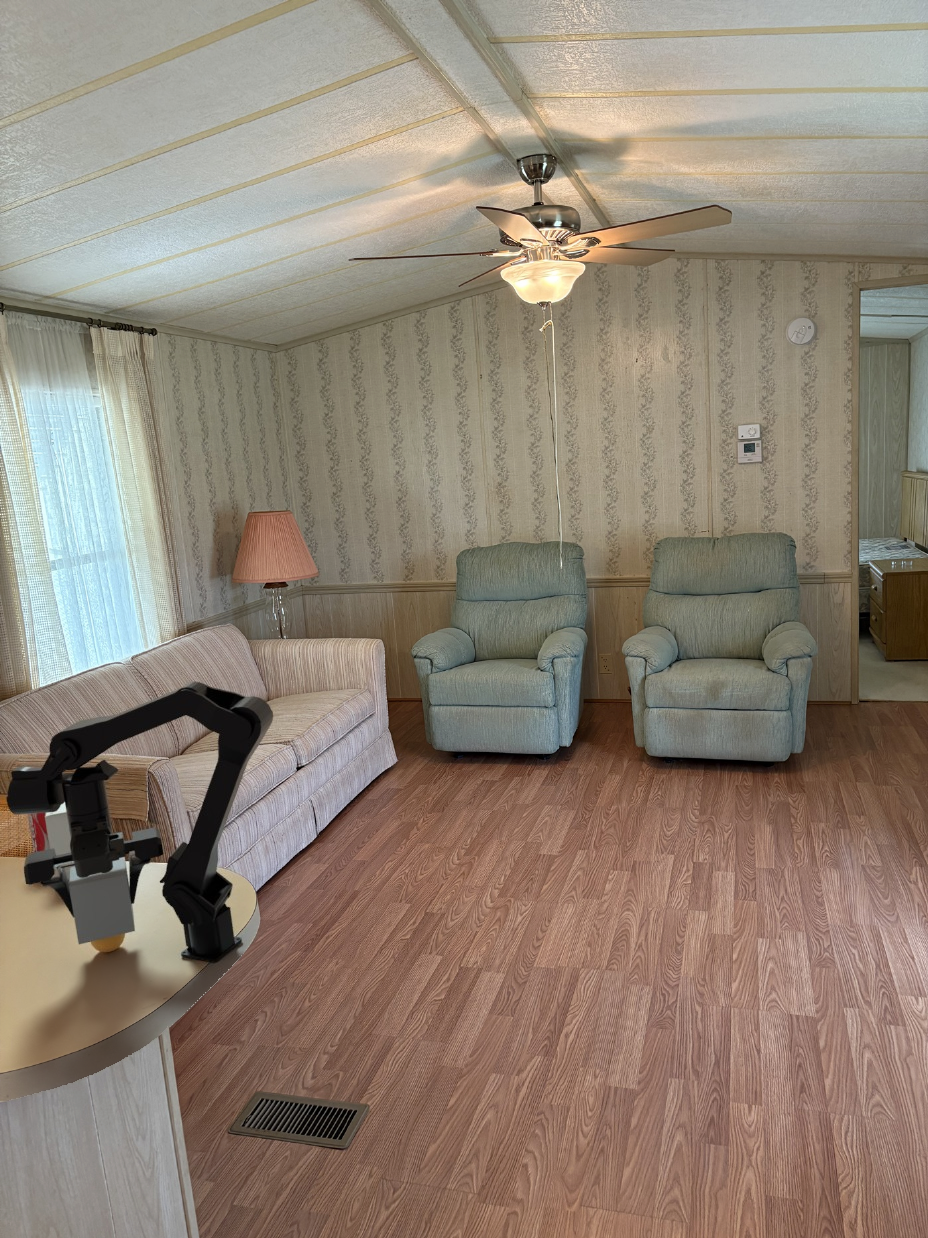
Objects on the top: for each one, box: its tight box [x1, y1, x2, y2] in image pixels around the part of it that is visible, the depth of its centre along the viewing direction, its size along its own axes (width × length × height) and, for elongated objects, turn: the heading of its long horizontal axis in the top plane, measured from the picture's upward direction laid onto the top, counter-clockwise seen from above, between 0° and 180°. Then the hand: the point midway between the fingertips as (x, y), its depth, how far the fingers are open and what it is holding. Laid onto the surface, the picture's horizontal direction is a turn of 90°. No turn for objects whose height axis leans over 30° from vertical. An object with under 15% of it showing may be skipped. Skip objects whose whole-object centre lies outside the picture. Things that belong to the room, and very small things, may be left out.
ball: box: [90, 933, 126, 953], centre depth 143 cm, size 5×5×5 cm
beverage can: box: [26, 813, 50, 853], centre depth 179 cm, size 6×6×12 cm
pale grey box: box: [68, 856, 136, 945], centre depth 141 cm, size 8×8×9 cm
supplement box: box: [45, 802, 75, 881], centre depth 174 cm, size 7×7×13 cm
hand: (103, 909), depth 141 cm, fingers closed on pale grey box, 8 cm apart
